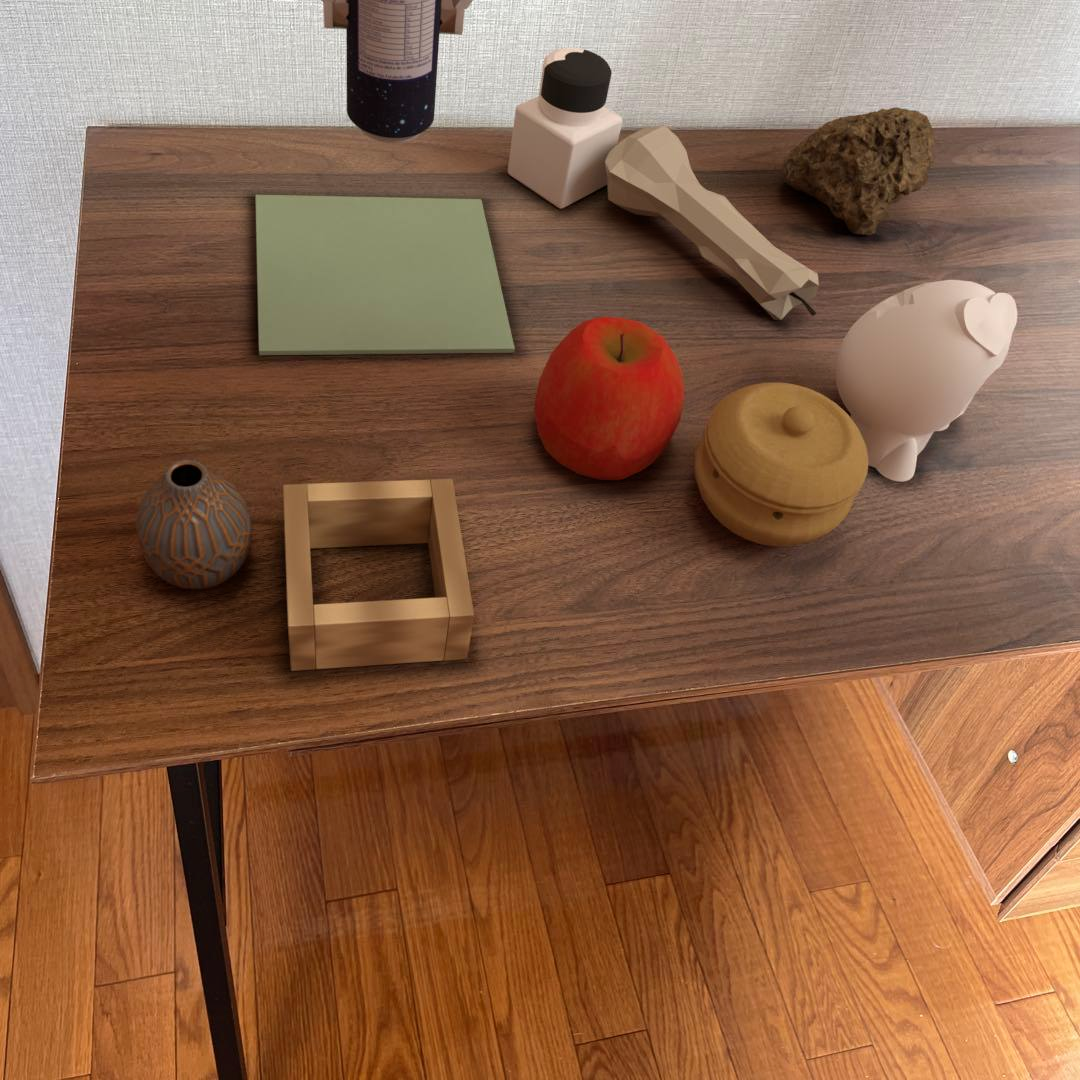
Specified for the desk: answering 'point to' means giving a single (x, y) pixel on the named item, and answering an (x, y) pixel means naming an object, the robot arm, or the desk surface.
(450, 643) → the holder
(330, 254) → the mat
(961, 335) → the figurine
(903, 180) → the brown porous lump
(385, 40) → the beverage can
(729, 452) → the pot
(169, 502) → the vase
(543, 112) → the medicine bottle
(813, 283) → the faceted club
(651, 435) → the apple
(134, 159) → the desk surface
